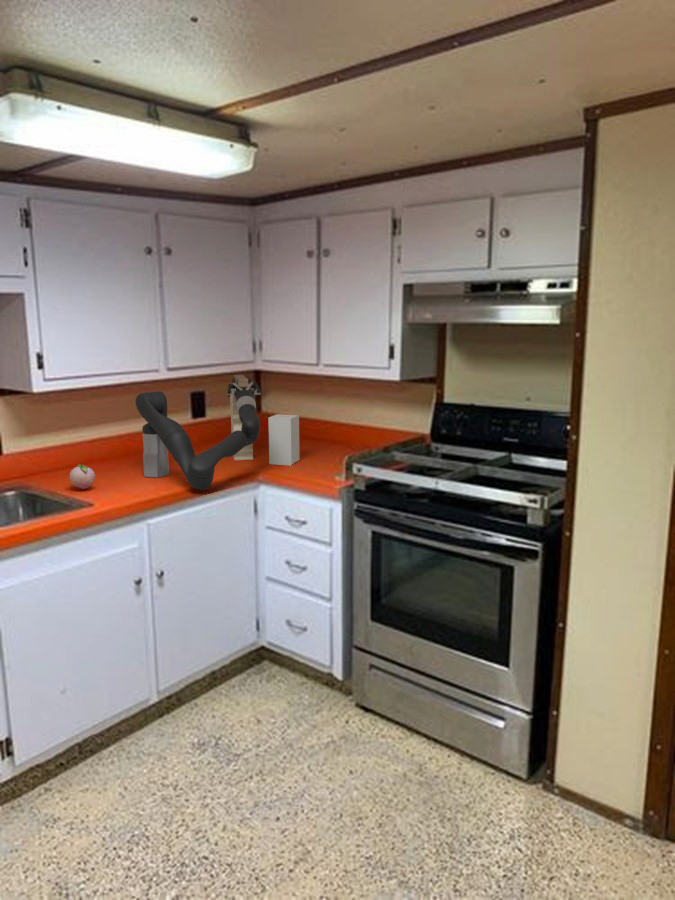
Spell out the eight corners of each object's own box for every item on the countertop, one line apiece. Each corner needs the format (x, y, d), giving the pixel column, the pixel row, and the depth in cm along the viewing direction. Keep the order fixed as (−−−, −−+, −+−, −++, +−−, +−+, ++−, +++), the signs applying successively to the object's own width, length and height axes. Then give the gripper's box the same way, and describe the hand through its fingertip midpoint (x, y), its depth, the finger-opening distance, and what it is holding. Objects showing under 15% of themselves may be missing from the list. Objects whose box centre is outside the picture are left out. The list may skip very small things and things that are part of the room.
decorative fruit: (66, 489, 252) (64, 463, 250) (87, 485, 258) (85, 459, 256) (77, 494, 246) (75, 467, 244) (99, 490, 252) (97, 463, 250)
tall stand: (253, 459, 302) (250, 386, 295) (234, 460, 300) (232, 387, 293) (250, 453, 313) (247, 383, 307) (232, 454, 311) (229, 384, 305)
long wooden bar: (248, 388, 287) (247, 379, 286) (238, 389, 286) (238, 379, 285) (243, 383, 307) (242, 374, 306) (234, 383, 306) (233, 374, 305)
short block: (291, 465, 290) (290, 418, 286) (269, 464, 292) (268, 417, 288) (299, 460, 299) (298, 415, 295) (278, 459, 302) (277, 414, 298)
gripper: (228, 411, 281) (224, 387, 293) (263, 410, 284) (258, 386, 296) (228, 396, 276) (224, 372, 288) (263, 395, 279) (258, 371, 291)
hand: (241, 379), depth 292 cm, fingers open, 5 cm apart
